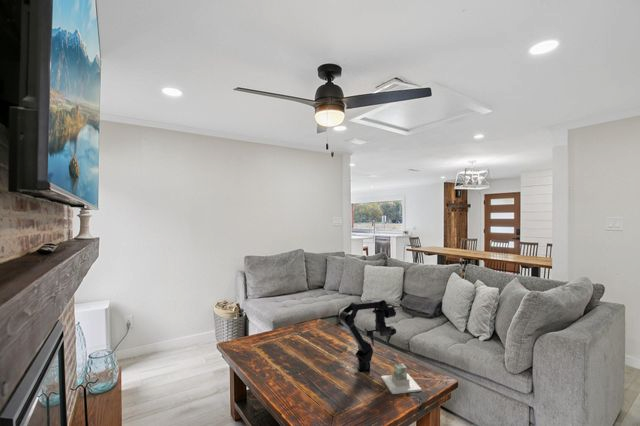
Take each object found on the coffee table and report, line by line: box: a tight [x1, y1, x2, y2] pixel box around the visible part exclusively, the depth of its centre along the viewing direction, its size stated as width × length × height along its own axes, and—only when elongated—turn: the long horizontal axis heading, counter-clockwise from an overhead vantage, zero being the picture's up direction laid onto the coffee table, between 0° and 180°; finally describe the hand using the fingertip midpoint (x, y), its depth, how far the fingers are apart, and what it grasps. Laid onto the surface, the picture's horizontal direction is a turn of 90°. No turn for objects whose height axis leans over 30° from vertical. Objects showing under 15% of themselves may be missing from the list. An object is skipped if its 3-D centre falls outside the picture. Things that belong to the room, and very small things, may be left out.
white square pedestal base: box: [381, 372, 422, 395], centre depth 171 cm, size 16×16×4 cm
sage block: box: [393, 362, 408, 380], centre depth 171 cm, size 5×5×6 cm
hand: (380, 344), depth 193 cm, fingers open, 9 cm apart
